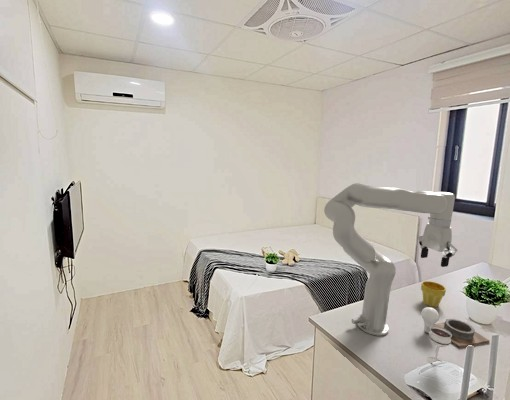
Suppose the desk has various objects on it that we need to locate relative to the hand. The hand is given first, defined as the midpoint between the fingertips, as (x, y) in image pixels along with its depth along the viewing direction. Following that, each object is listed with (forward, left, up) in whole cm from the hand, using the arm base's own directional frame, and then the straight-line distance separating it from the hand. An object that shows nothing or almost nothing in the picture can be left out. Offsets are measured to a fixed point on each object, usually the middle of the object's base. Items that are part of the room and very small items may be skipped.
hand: (433, 261), depth 122 cm
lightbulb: (-2, -4, -30) cm, 30 cm away
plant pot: (+20, +15, -30) cm, 38 cm away
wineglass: (-14, -19, -30) cm, 38 cm away
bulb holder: (+10, -8, -29) cm, 32 cm away
